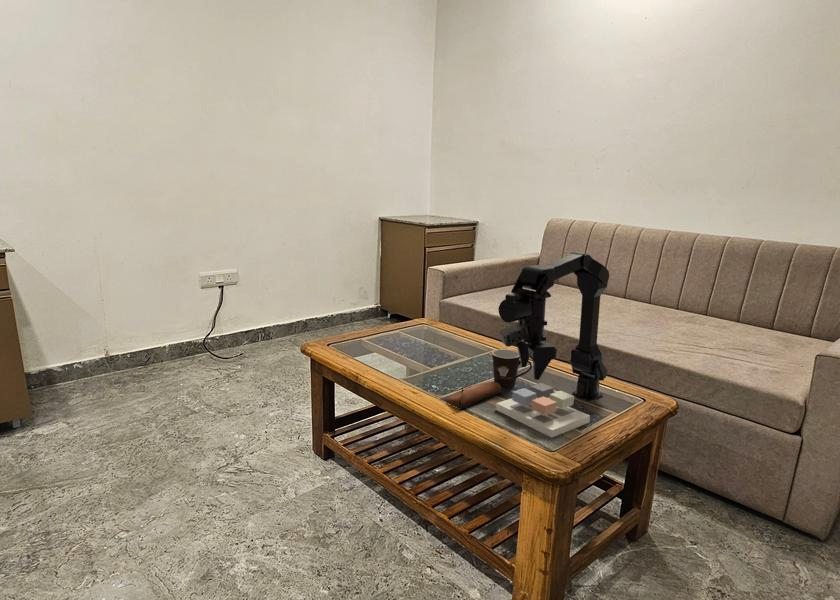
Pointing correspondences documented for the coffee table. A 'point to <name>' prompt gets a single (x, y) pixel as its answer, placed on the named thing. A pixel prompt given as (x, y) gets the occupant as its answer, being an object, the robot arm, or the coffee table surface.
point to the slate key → (523, 396)
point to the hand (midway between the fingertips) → (530, 373)
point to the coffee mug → (506, 367)
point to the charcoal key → (542, 390)
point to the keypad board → (544, 417)
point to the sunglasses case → (473, 394)
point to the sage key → (562, 399)
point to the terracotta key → (544, 405)
